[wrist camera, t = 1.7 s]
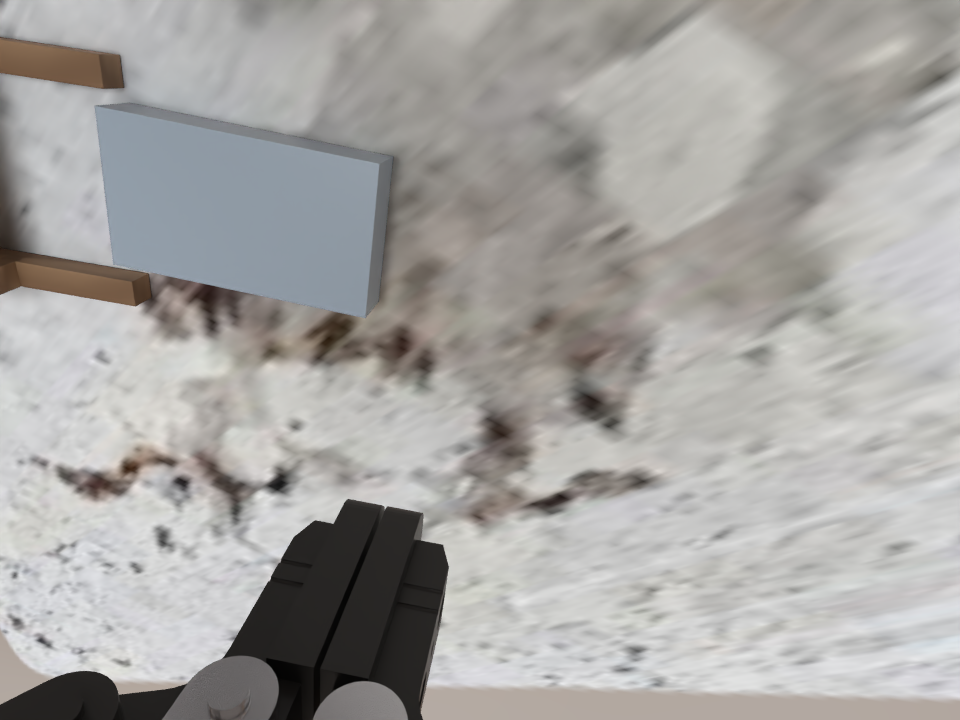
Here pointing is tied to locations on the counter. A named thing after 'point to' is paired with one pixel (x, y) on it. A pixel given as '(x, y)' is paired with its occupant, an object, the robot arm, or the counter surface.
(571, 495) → the counter surface
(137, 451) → the counter surface
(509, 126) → the counter surface
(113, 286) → the wooden frame
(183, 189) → the panel
